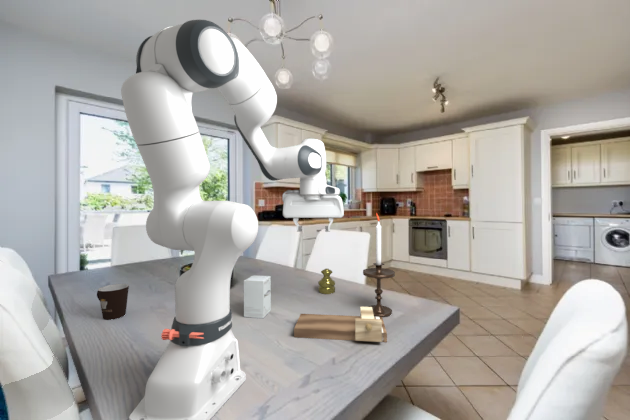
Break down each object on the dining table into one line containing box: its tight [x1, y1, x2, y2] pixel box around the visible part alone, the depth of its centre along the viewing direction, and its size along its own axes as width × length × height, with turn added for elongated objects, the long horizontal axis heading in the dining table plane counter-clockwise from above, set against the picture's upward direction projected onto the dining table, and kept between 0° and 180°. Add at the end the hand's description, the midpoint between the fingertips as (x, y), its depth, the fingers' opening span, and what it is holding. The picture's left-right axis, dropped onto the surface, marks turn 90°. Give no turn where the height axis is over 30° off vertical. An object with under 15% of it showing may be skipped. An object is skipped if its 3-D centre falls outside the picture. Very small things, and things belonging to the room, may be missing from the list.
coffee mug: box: [96, 283, 130, 321], centre depth 97 cm, size 12×9×10 cm
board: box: [293, 313, 388, 343], centre depth 83 cm, size 11×26×3 cm, turn 83°
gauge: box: [355, 306, 383, 343], centre depth 80 cm, size 12×7×6 cm, turn 173°
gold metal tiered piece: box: [317, 268, 336, 295], centre depth 121 cm, size 7×8×10 cm
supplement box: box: [243, 275, 272, 319], centre depth 97 cm, size 7×7×13 cm
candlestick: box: [362, 212, 396, 318], centre depth 97 cm, size 11×11×35 cm
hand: (313, 231), depth 92 cm, fingers open, 8 cm apart
